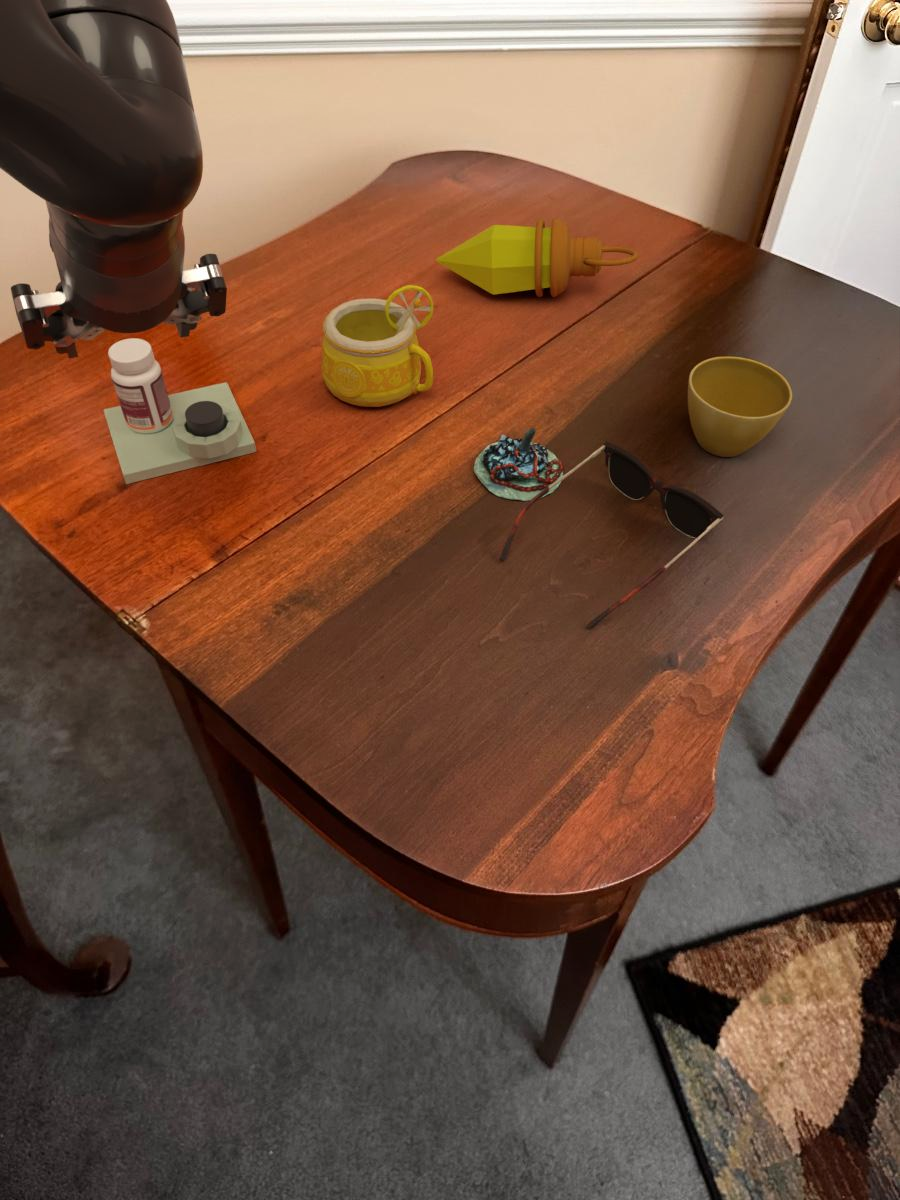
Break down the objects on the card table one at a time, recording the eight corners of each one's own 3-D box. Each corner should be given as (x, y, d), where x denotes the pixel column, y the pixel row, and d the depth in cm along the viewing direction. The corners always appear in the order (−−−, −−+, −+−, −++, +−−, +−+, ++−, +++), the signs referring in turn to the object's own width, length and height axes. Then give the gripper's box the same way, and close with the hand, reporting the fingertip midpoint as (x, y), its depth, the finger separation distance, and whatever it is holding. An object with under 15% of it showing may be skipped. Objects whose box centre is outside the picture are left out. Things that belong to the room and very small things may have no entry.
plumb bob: (430, 308, 108) (636, 305, 104) (425, 230, 102) (641, 224, 98) (441, 286, 115) (634, 283, 111) (437, 213, 110) (639, 207, 106)
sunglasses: (713, 549, 81) (726, 512, 77) (601, 647, 75) (608, 612, 71) (600, 475, 88) (607, 437, 84) (487, 559, 81) (489, 522, 77)
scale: (127, 489, 84) (119, 465, 82) (106, 418, 91) (98, 394, 89) (258, 456, 88) (254, 433, 85) (228, 390, 95) (224, 367, 92)
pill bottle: (160, 400, 91) (141, 329, 85) (182, 423, 89) (164, 352, 82) (117, 417, 89) (94, 346, 83) (139, 441, 87) (117, 370, 80)
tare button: (193, 441, 85) (189, 427, 84) (184, 419, 87) (181, 405, 86) (229, 432, 86) (226, 418, 85) (220, 411, 88) (217, 397, 87)
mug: (303, 398, 94) (292, 297, 85) (353, 347, 101) (347, 248, 92) (409, 433, 91) (409, 331, 82) (453, 377, 98) (457, 278, 88)
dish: (531, 412, 90) (538, 416, 82) (565, 472, 91) (575, 481, 84) (465, 454, 91) (466, 461, 83) (500, 511, 92) (504, 524, 85)
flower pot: (736, 487, 87) (758, 431, 82) (654, 441, 91) (669, 384, 86) (787, 443, 92) (811, 386, 86) (706, 400, 96) (724, 344, 91)
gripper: (15, 331, 51) (46, 400, 66) (251, 290, 56) (229, 363, 71) (-26, 206, 51) (15, 304, 66) (216, 174, 55) (202, 273, 71)
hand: (126, 335), depth 68 cm, fingers open, 8 cm apart
